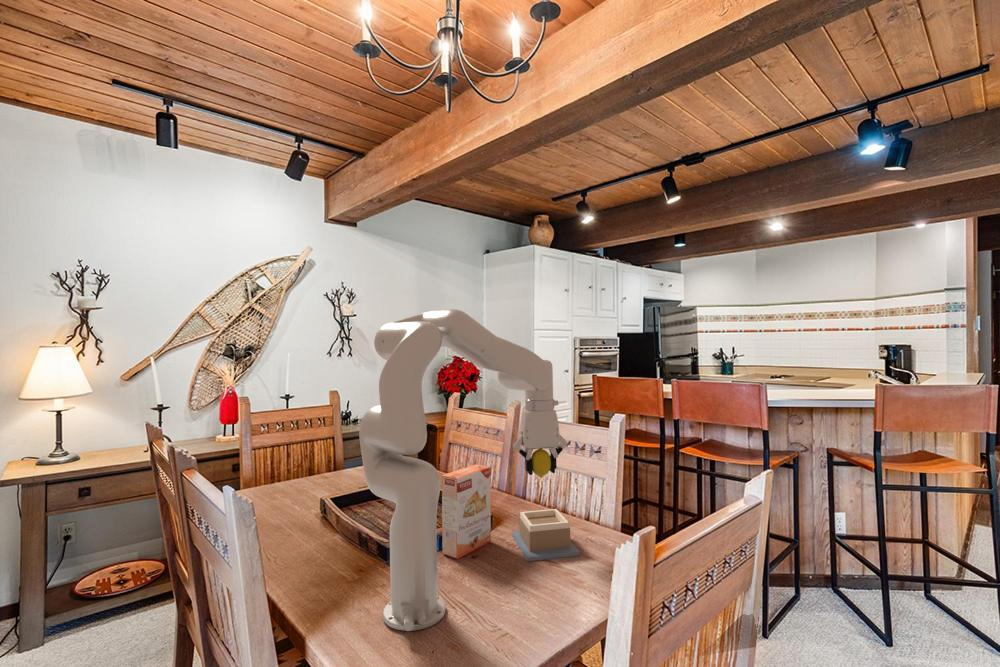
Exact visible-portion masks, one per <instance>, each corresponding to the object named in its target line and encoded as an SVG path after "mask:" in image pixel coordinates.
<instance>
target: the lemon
mask: <svg viewBox="0 0 1000 667" xmlns="http://www.w3.org/2000/svg"><path fill="white" fill-rule="evenodd" d="M531 460H532V466H533V473H534V474H535V475H536V476H538V477H539V478H540V479H541V478H544V476H546V475H547V474H549V473H550V472H551V471H550V468H551V459H550V454H549V452H548V451H547V450H545V449H544V448H543V449H535V451H534V452H532V455H531Z"/></svg>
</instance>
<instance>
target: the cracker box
mask: <svg viewBox="0 0 1000 667" xmlns="http://www.w3.org/2000/svg"><path fill="white" fill-rule="evenodd" d="M491 476H492V475H491V467H489V466H486V465H480V464H473V465H469V466H467V467H463V468H461V469H460V468H459V469H457V470H454V471H451V472H448V473H445V474H442V475H441V496H442V497H441V508H442V510H441V517H442V518H441V519H442V520H441V521H442V523H441V524H442V526H441V527H442V528H441V530H442V531H441V532H442V533H441V534H442V539H441V540H442V542H441V544H442V548H441V549H442V553H441V554H442V555H444V556H448V557H451V558H454V559H456V560H459V559H460V558H462V557H464V556H466V555H468V554H470V553H472V552H473V551H475V550H477V549H479V548H482V547H483V546H485V545H487V544H489V543H490V542H491V541H492V534H491V529H492V528H491V526H492V524H491V523H492V522H491V519H492V518H491V517H492V516H491V512H492V511H491V508H492V505H491V504H492V503H491V500H492V499H491V494H492V493H491V488H492V487H491V486H492V485H491Z"/></svg>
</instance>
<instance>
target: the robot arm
mask: <svg viewBox="0 0 1000 667" xmlns="http://www.w3.org/2000/svg"><path fill="white" fill-rule="evenodd" d="M373 344H374V349H375V351H376V353H377V355H379V357H381V359H383V360H385V363H384V366H383V368H382V370H381V373H380V376H379V380H378V392H379V393H378V394H379V405H374V406H373V407H371V408H370V409H368V410H367V411H366V412H365V413H364V415H363V417H362V419H361V421H360V424H359V432H358V437H359V445H360V453H361V458H362V459H361V460H362V466H363V472H364V478H365V482H366V484H367V487H368V489H369V490H370V491H371V492H370V493H372V494H373V495H375V496H376V497H379V498H381V499H383V500H386V501H389V502H391V503H394V504H395V509H394V512H393V515H392V518H391V520H390V525H389V569H390V570H389V571H390V574H389V578H390V579H389V580H390V581H389V582H390V583H389V584H390V601H389V602H388V603H387V604H386V605H385V606H384V607H383V612H382V619H383V621H384V623H385V625H387V626H388V627H390V628H391V629H394V630H396V631H397V630H398V631H403V632H405V631H406V632H414V631H419V630H423V629H428V628H430V627H432V626H435V625H436V624H437V623H439V622H440V621H441V620H442V619H443V618H444V616H445V615H446V603H445V601H444V599H443V598H441V596H438V594H439V593H438V590H439V589H438V539H437V538H438V537H437V535H438V534H437V515H438V514H437V512H438V507H439V506H438V505H439V498H440V492H441V488H442V479H441V476H440V473H439V471H438V470H437V469H436V467H435V466H434V465H433V464H432V463H430V462H428V461H425V460H423V459H420V458H415V457H411V456H413V455H416V454H418V453H420V452H421V451H423V449H424V447H426V443H427V438H428V431H427V421H426V414H425V407H424V400H423V388H422V386H423V385H422V384H423V377H424V374H425V372H426V370H427V368H428V366H429V365H430V364H431V363H432V361H433V360H434V358H436V356H437V355H438V353H439V352H440V351H441V347H445V348H449V349H451V350H452V351H454V352H455V353H457V354H459V355H460V356H462V357H463V358H464V359H466V360H468V361H469V362H470V363H472V364H473V365H475V366H477V367H479V368H482V369H485V370H488V371H492V372H493V371H494V372H497V378H498V381H499V383H500V385H501V386H502V387H504V388H505V389H509V390H515V391H516V390H518V391H524V393H525V394H524V397H525V403H524V404H525V409H524V410H522V413H521V420H520V433H519V437H518V439H517V440H516V441H515V442H514V444H513V445H512V448H513V449H514V450H515V451H516V452H517V453H519V454H520V455H521V456H522V457H523V458H524V461H525V462H524V466H525V467H524V468H525V471H526V472H527V474H528V475H529V476H532V475H533V473H534V472H533V466H532V460H531V457H532V454H533V450H538V449H543V450H544V449H548V451H549V453H550V454H549V455H550V459H551V468H550V471H549V472H550V473H552V474H556V470H557V458H558V457H559V455H560V454H561V453H562V451H564V449H565V448H566V447H567V446H568V444H569V443H568V441H567V440H565V438H564V437H563V436H562V435H561V433H560V426H559V420H558V416H557V415H558V414H557V411H556V409H555V407H557V406H559V400H556V399H554V375H553V374H554V373H553V372H554V370H553V363H552V362H551V360H548V359H543V358H541V356H539V355H537V353H535V352H534V351H532V350H530V349H528V348H525V347H524V346H521V345H518V344H516V343H513V342H512V341H510V340H507V339H504V338H502V337H499V336H497V335H495V334H494V333H493V332H491V331H490V330H488V329H487V328H486V327H485V326H483V325H482V324H481V323H479V322H478V321H477V320H475V319H474V318H473V317H471V316H470V315H469V314H467V313H466V312H464V311H463V310H459V309H455V308H454V309H453V308H451V309H450V308H449V309H447V308H446V309H439V310H438V309H437V310H429V311H425V312H421V313H418V314H415V315H411V316H409V317H405V318H402V319H398V320H396V321H391V322H388V323H386V324H384V325H382V326H381V327H380V328H379V329H378V330H377V332H376V333H375V336H374V341H373ZM521 446H523V447H524V448H525V450H523V449H522V447H521Z"/></svg>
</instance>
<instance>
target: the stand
mask: <svg viewBox="0 0 1000 667" xmlns="http://www.w3.org/2000/svg"><path fill="white" fill-rule="evenodd" d="M519 516H520V517H519V530H515V531H512V532H511V535H513V536H512V538H513V539H514V541H515V542H516V544H517V546H518V548H519V549H520V551H521V553H522V555H523V557H524V558H525V561H527V562H535V561H542V560H543V561H544V560H551V559H561V558H570V557H578V556H579V557H580V556H581V551H580V550H579V548H578V547H576V545H575V544H574V543H573V542H572V540H571V527H570V522H569V521H568V520H567V519H566V518H565V516H564V515H563V513H561V512H560V511H559V510H558V509H557V508H553V509H552V508H549V509H541V510H540V509H539V510H529V511H520V512H519Z"/></svg>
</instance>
